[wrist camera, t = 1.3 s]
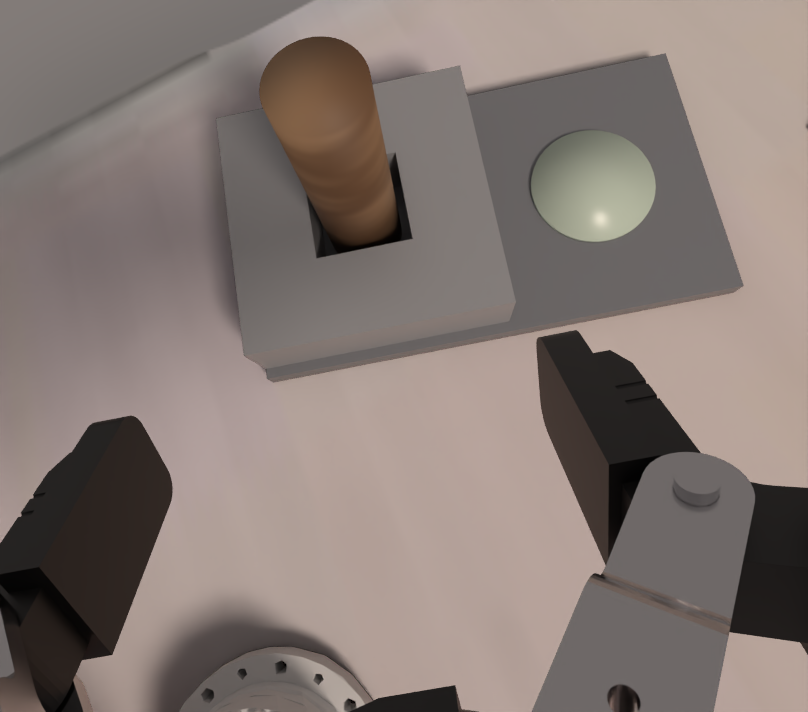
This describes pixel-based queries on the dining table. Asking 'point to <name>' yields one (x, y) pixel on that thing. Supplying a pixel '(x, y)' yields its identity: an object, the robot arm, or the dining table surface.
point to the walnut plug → (333, 139)
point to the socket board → (574, 267)
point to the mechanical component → (278, 684)
